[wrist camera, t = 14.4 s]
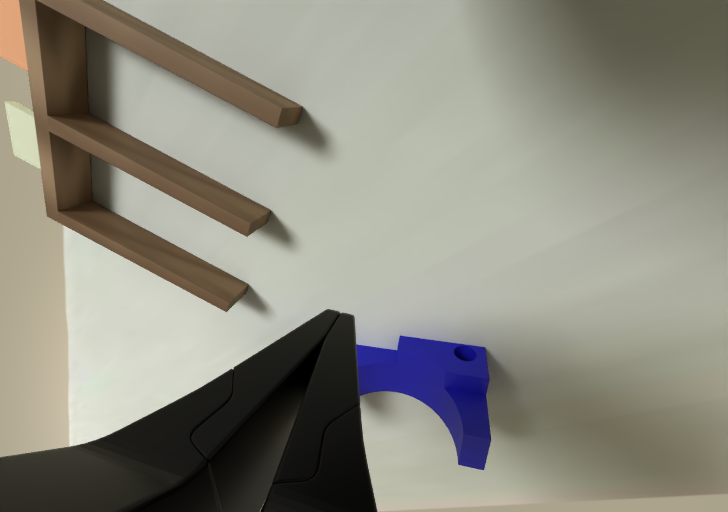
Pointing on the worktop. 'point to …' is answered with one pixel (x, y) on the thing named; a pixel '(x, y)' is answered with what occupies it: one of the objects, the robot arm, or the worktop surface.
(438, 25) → the worktop surface
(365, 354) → the cable clip
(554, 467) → the worktop surface
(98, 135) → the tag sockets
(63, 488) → the robot arm
